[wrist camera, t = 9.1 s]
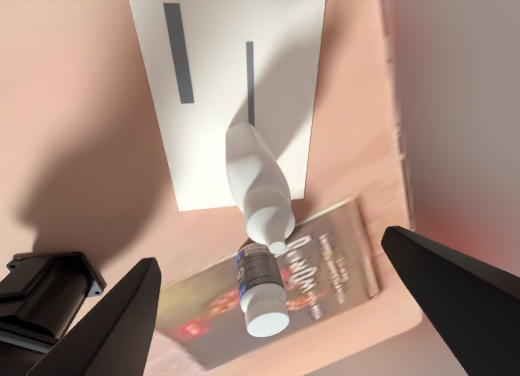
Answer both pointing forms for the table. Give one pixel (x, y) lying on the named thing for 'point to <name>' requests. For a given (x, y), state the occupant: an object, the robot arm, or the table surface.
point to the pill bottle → (261, 290)
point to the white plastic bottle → (258, 187)
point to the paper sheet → (230, 85)
